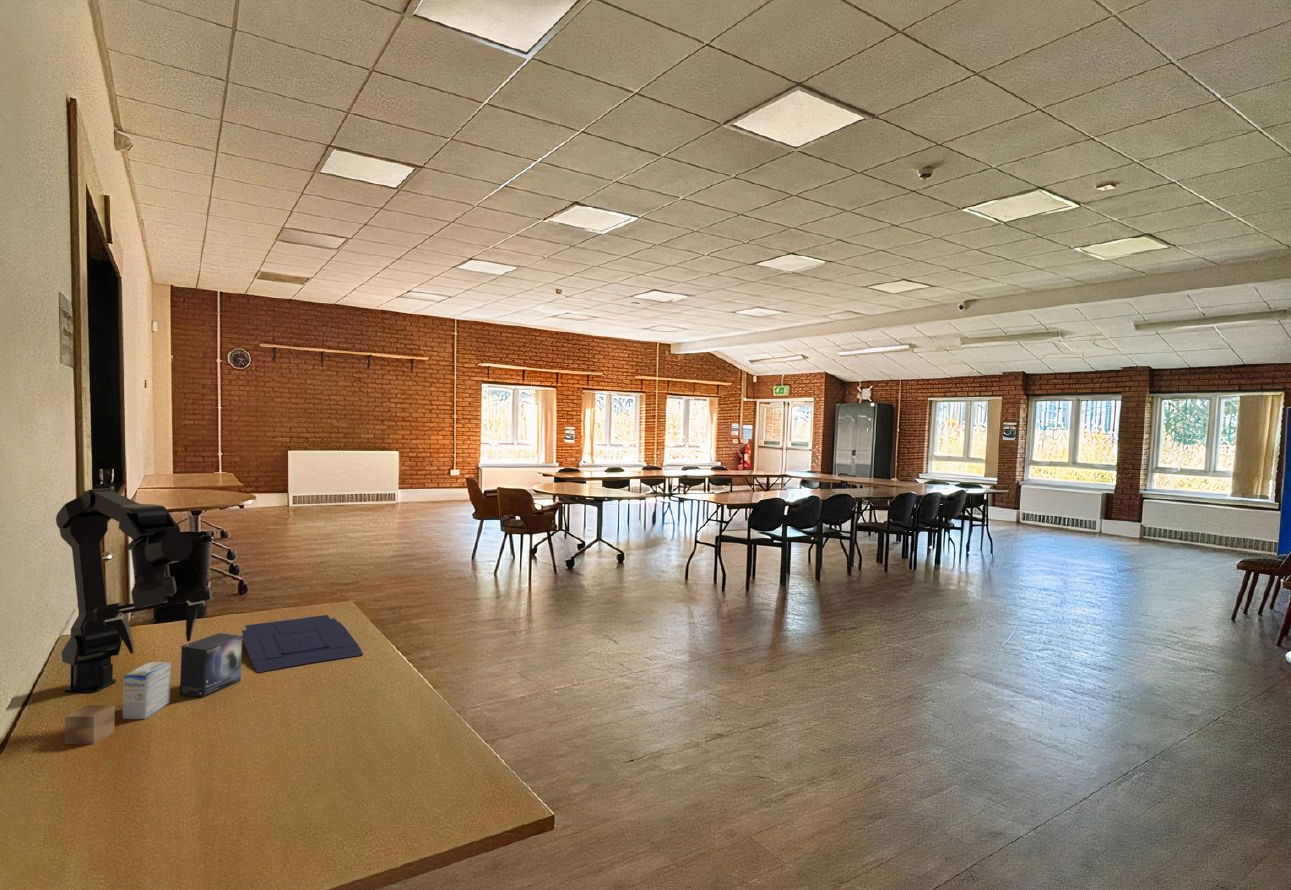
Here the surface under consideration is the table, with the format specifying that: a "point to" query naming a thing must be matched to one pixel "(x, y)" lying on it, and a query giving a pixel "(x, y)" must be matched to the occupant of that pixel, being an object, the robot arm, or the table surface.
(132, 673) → the medicine box
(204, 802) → the table surface
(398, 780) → the table surface
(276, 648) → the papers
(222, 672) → the small box
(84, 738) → the light brown cube
